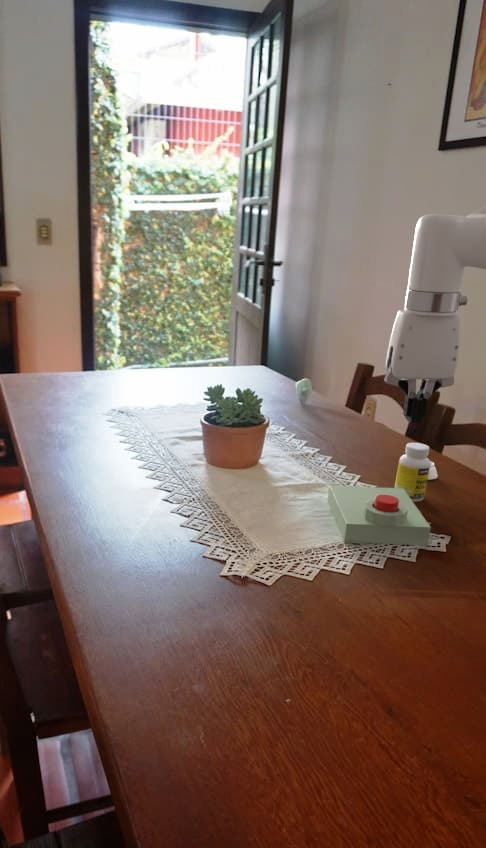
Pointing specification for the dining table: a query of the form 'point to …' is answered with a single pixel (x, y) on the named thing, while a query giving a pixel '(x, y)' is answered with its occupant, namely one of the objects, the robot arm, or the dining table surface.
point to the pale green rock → (303, 390)
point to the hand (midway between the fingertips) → (412, 420)
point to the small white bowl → (432, 472)
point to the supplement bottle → (414, 471)
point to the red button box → (376, 517)
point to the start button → (386, 503)
